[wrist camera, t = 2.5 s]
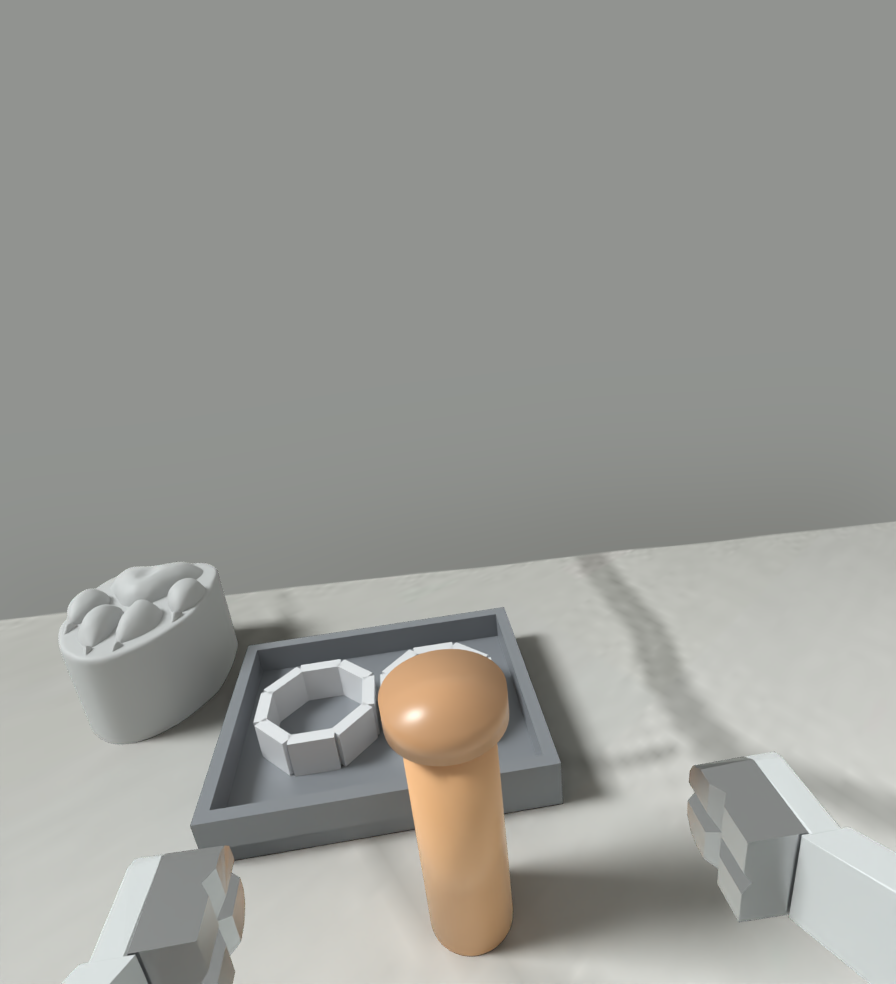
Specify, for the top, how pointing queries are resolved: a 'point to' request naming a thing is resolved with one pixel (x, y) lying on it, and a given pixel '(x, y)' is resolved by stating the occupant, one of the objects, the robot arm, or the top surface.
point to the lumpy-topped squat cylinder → (148, 648)
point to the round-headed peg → (455, 789)
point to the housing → (350, 738)
